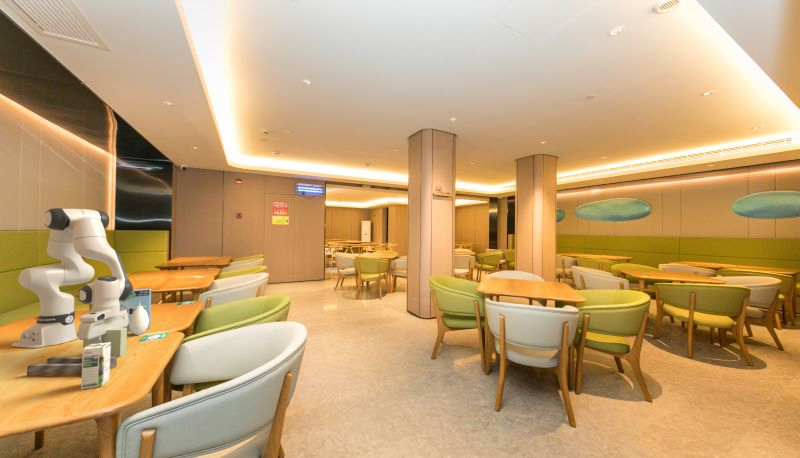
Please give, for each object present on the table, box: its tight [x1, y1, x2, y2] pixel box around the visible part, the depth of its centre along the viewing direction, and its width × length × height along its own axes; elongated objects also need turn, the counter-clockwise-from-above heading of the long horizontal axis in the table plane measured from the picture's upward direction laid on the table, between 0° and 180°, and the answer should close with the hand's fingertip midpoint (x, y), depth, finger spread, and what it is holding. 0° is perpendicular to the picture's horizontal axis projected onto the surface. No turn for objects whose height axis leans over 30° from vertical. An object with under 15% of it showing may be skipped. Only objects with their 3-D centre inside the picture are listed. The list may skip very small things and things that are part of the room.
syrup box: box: [80, 342, 111, 391], centre depth 106 cm, size 6×6×14 cm
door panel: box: [82, 328, 128, 358], centre depth 131 cm, size 16×3×12 cm, turn 93°
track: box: [26, 356, 118, 377], centre depth 116 cm, size 26×8×4 cm, turn 93°
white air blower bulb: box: [129, 303, 149, 336], centre depth 159 cm, size 8×8×18 cm
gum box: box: [119, 288, 152, 332], centre depth 165 cm, size 20×5×23 cm, turn 123°
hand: (105, 343), depth 131 cm, fingers closed on door panel, 3 cm apart
